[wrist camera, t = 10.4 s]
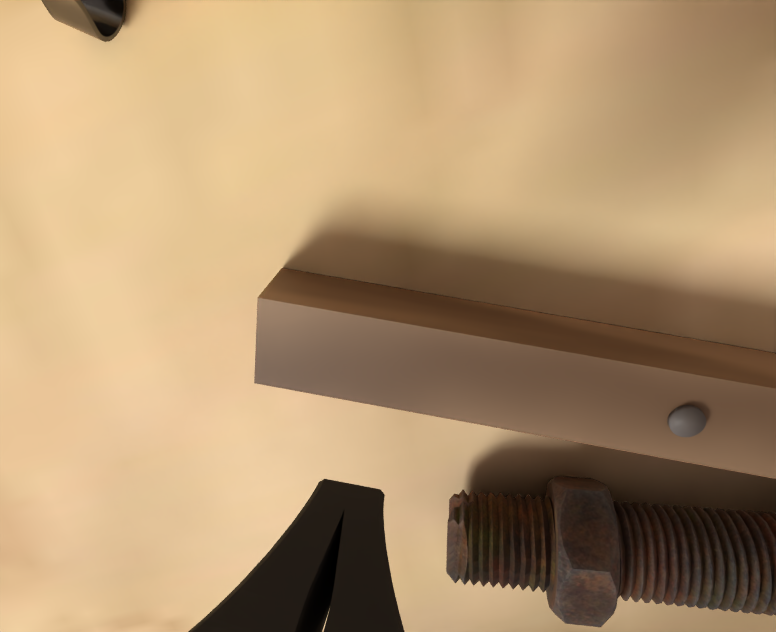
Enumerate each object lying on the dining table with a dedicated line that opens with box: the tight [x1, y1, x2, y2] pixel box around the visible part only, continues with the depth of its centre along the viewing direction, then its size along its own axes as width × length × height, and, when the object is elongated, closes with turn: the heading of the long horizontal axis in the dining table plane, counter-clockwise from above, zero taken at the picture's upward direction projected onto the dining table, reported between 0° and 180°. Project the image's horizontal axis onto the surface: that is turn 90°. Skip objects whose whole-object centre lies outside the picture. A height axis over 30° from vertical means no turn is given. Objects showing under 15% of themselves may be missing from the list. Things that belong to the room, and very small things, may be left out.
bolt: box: [446, 476, 776, 627], centre depth 20 cm, size 6×5×15 cm
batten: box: [254, 268, 776, 479], centre depth 18 cm, size 3×26×3 cm, turn 82°
